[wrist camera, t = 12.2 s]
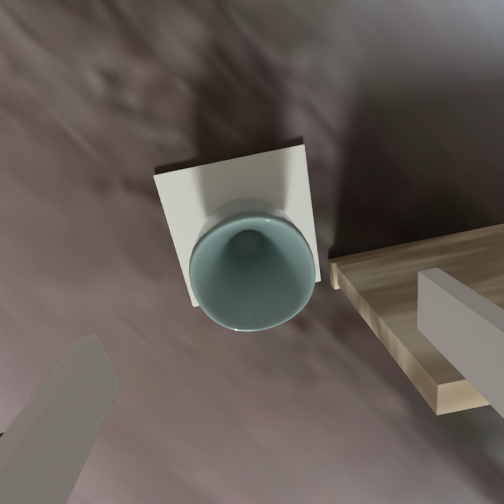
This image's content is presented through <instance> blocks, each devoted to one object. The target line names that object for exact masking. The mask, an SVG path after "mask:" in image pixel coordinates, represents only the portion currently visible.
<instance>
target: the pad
mask: <svg viewBox="0 0 504 504" xmlns="http://www.w3.org/2000/svg"><path fill="white" fill-rule="evenodd" d="M154 179H155V183H156V186H157V189H158V192H159V196H160V199H161V202H162V206H163V209H164V212H165V215H166V219H167V222H168V225H169V229H170V232H171V235H172V238H173V242H174V245H175V248H176V252H177V255H178V258H179V262H180V265H181V268H182V271H183V275H184V278H185V281H186V285H187V288H188V291H189V294H190V298H191V301H192V304H193V307H195V306H200V305H199V304H198V302H197V300H196V298H195V296H194V294H193V291H192V288H191V284H190V277H189V261H190V256H191V253H192V250H193V246H194V243H195V241H196V238H197V235H198V233H199V231H200V229H201V227H202V225H203V224H204V222H205V221H206V219H207V218H208V216H209V215H210V214H211V213H212V212H213V211H214V210H215V209H217V208H218V207H220V206H221V205H223V204H224V203H226V202H229V201H231V200H233V199H237V198H241V197H258V198H262V199H265V200H268V201H270V202H272V203H274V204H275V205H277V206H278V207H280V208H281V209H282V210H283V211H284V212H285V213H286V214H287V215H288V216H289V217H290V218H291V220H292V221H293V222H294V223H295V224H296V226H297V227H298V228H299V229H300V231H301V232H302V234H303V236H304V237H305V239H306V240H307V242H308V244H309V246H310V249H311V251H312V254H313V258H314V263H315V269H316V278H315V282H318V281H321V278H320V269H319V261H318V253H317V245H316V237H315V229H314V220H313V212H312V204H311V196H310V188H309V180H308V172H307V163H306V155H305V147H304V144H303V145H298V146H293V147H288V148H283V149H278V150H273V151H269V152H264V153H259V154H254V155H249V156H244V157H240V158H235V159H230V160H225V161H220V162H215V163H210V164H206V165H201V166H196V167H191V168H186V169H181V170H177V171H172V172H167V173H162V174H157V175H154Z"/></svg>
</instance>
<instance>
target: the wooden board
mask: <svg viewBox="0 0 504 504" xmlns="http://www.w3.org/2000/svg"><path fill="white" fill-rule="evenodd" d="M328 264H329V273H330V282H331V285H332V287H333V288H334V289H339V288H341V289H342V291H343V292H344V293H345V295H346V296H347V297H348V299H349V300H350V301H351V303H352V304H353V305H354V307H355V308H356V309H357V311H358V312H359V313H360V315H361V316H362V317H363V318H364V320H365V321H366V322H367V324H368V325H369V326H370V328H371V329H372V330H373V332H374V333H375V334H376V336H377V337H378V338H379V340H380V341H381V342H382V344H383V345H384V346H385V347H386V349H387V350H388V351H389V353H390V354H391V355H392V357H393V358H394V359H395V361H396V362H397V363H398V365H399V366H400V367H401V369H402V370H403V371H404V373H405V374H406V375H407V377H408V378H409V379H410V380H411V382H412V383H413V384H414V386H415V387H416V388H417V390H418V391H419V392H420V394H421V395H422V396H423V398H424V399H425V400H426V402H427V403H428V404H429V406H430V407H431V408H432V410H433V411H434V412H435V413H436V415H440V414H445V413H450V412H455V411H460V410H465V409H470V408H475V407H480V406H485V405H490V403H489V402H488V401H487V400H486V399H485V398H484V397H483V396H482V395H481V394H480V393H479V392H478V391H477V390H476V389H475V388H474V387H473V386H472V385H471V384H470V383H469V382H468V381H467V380H466V378H465V377H464V376H463V375H462V374H461V373H460V372H459V371H458V370H457V369H456V368H455V367H454V366H453V365H452V364H451V363H450V362H449V361H448V360H447V359H446V358H445V357H444V356H443V355H442V354H441V352H440V351H439V350H438V349H437V348H436V347H435V346H434V345H433V344H432V343H431V342H430V341H429V340H428V339H427V338H426V337H425V336H424V335H423V334H422V333H421V332H420V331H419V330H418V329H417V312H418V271H423V270H428V269H433V268H439V269H440V270H442V271H444V272H445V273H447V274H448V275H450V276H451V277H453V278H455V279H456V280H458V281H459V282H461V283H462V284H464V285H466V286H467V287H469V288H470V289H472V290H473V291H475V292H477V293H478V294H480V295H481V296H483V297H484V298H486V299H488V300H489V301H491V302H492V303H494V304H495V305H497V306H499V307H500V308H502V309H503V310H504V224H499V225H494V226H489V227H484V228H479V229H474V230H469V231H464V232H459V233H454V234H450V235H445V236H440V237H435V238H430V239H425V240H420V241H415V242H410V243H405V244H400V245H395V246H390V247H386V248H381V249H376V250H371V251H366V252H361V253H356V254H351V255H346V256H341V257H336V258H331V259H328Z"/></svg>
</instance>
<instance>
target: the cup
mask: <svg viewBox="0 0 504 504" xmlns="http://www.w3.org/2000/svg"><path fill="white" fill-rule="evenodd" d="M189 277H190V284H191V288H192V291H193V294H194V296H195V298H196V300H197V302H198V304H199V305H200V307H201V308H202V310H203V311H204V312H205V313H206V314H207V315H208V316H209V317H210V318H211V319H212V320H214V321H215V322H216V323H218V324H220V325H222V326H224V327H226V328H229V329H232V330H236V331H248V332H250V331H260V330H264V329H268V328H272V327H275V326H277V325H280V324H282V323H284V322H286V321H287V320H289V319H291V318H292V317H294V316H295V315H296V314H297V313H298V312H300V311H301V310H302V309H303V307H304V306H305V305H306V304H307V302H308V301H309V299H310V297H311V295H312V293H313V290H314V285H315V278H316V269H315V263H314V258H313V254H312V251H311V249H310V246H309V244H308V242H307V240H306V239H305V237H304V236H303V234H302V232H301V231H300V229H299V228H298V227H297V226H296V224H295V223H294V222H293V221H292V220H291V218H290V217H289V216H288V215H287V214H286V213H285V212H284V211H283V210H282V209H281V208H280V207H278V206H277V205H275V204H274V203H272V202H270V201H268V200H265V199H262V198H258V197H241V198H237V199H233V200H231V201H229V202H226V203H224V204H223V205H221V206H220V207H218V208H217V209H215V210H214V211H213V212H212V213H211V214H210V215H209V216H208V218H207V219H206V221H205V222H204V224H203V225H202V227H201V229H200V231H199V233H198V235H197V238H196V241H195V243H194V246H193V250H192V253H191V256H190V261H189Z"/></svg>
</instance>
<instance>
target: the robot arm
mask: <svg viewBox="0 0 504 504" xmlns="http://www.w3.org/2000/svg"><path fill="white" fill-rule="evenodd" d="M417 329H418V330H419V331H420V332H421V333H422V334H423V335H424V336H425V337H426V338H427V339H428V340H429V341H430V342H431V343H432V344H433V345H434V346H435V347H436V348H437V349H438V350H439V351H440V352H441V354H442V355H443V356H444V357H445V358H446V359H447V360H448V361H449V362H450V363H451V364H452V365H453V366H454V367H455V368H456V369H457V370H458V371H459V372H460V373H461V374H462V375H463V376H464V377H465V378H466V380H467V381H468V382H469V383H470V384H471V385H472V386H473V387H474V388H475V389H476V390H477V391H478V392H479V393H480V394H481V395H482V396H483V397H484V398H485V399H486V400H487V401H488V402H489V403H490V404H491V405H492V407H493V408H494V409H495V410H496V411H497V412H498V413H499V414H500V415H501V416H502V417H503V418H504V310H503V309H502V308H500V307H499V306H497V305H495V304H494V303H492V302H491V301H489V300H488V299H486V298H484V297H483V296H481V295H480V294H478V293H477V292H475V291H473V290H472V289H470V288H469V287H467V286H466V285H464V284H462V283H461V282H459V281H458V280H456V279H455V278H453V277H451V276H450V275H448V274H447V273H445V272H444V271H442V270H440V269H439V268H433V269H428V270H423V271H418V312H417ZM120 386H121V384H120V382H119V380H118V378H117V376H116V373H115V371H114V369H113V367H112V365H111V363H110V361H109V359H108V356H107V354H106V352H105V350H104V348H103V346H102V344H101V342H100V339H99V337H98V335H97V334H96V335H91V336H86V337H81V338H78V340H77V341H76V342H75V343H74V345H73V346H72V347H71V348H70V350H69V351H68V352H67V353H66V355H65V356H64V357H63V359H62V360H61V361H60V362H59V364H58V365H57V366H56V367H55V369H54V370H53V371H52V373H51V374H50V375H49V376H48V378H47V379H46V380H45V381H44V383H43V384H42V385H41V387H40V388H39V389H38V390H37V392H36V393H35V394H34V395H33V397H32V398H31V399H30V400H29V402H28V403H27V404H26V406H25V407H24V408H23V409H22V411H21V412H20V413H19V414H18V416H17V417H16V418H15V420H14V421H13V422H12V423H11V425H10V426H9V427H8V428H7V430H6V431H5V432H4V433H1V434H0V504H66V503H67V500H68V498H69V496H70V494H71V492H72V490H73V487H74V485H75V483H76V481H77V479H78V477H79V475H80V472H81V470H82V468H83V466H84V464H85V462H86V459H87V457H88V455H89V453H90V451H91V449H92V447H93V444H94V442H95V440H96V438H97V436H98V434H99V431H100V429H101V427H102V425H103V423H104V421H105V419H106V416H107V414H108V412H109V410H110V408H111V406H112V403H113V401H114V399H115V397H116V395H117V393H118V391H119V388H120Z"/></svg>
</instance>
